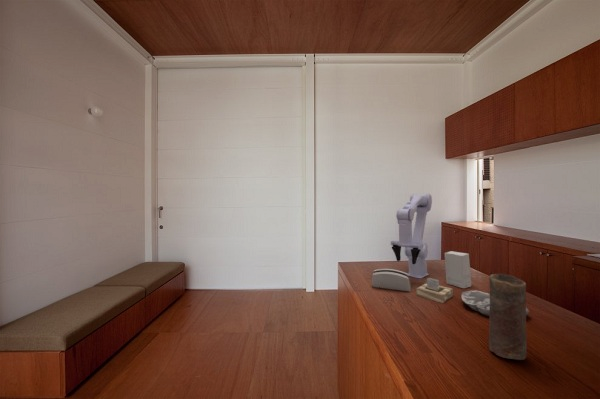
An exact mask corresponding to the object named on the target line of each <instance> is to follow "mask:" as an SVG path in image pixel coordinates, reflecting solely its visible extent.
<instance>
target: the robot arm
mask: <svg viewBox="0 0 600 399" xmlns="http://www.w3.org/2000/svg"><path fill="white" fill-rule="evenodd" d="M432 198H433V197H432V195H431V194H430V193H423V194H422V193H421V194H418V193H415V194H414V193H412V194H411V195H410V196H409V201H407V202H406V203H405V204H404V206H402V207H401V208H399V209H398V210H396V221H397V224H398V239H399V240H398V241H396V240H392V241H390V246H391V249H392V251H393V253H394V256H395V260H396V262H400V261H401V257H402V256H401V254H402V253H401V251H402V250H401V249H402V248H404V255H405V256H406V257H407V259H408V272H406V273H407V274H408V276H409V277H413V278H416V279H421V280H422V279H423V278H424V277H427V276H429V275H430V274H429V273H428V265H427V262H428V261H427V259H426V258H427V257H428V245H427V243H426V242H425V241H424V240H423V238H424V232H425V225H426V219H427V215H428V212H430V211H431V209H432V204H433V199H432ZM415 213H416V216H415ZM414 216H415V217H414ZM414 218H415V222H414V227H413V220H414ZM413 228H414V229H413Z"/></svg>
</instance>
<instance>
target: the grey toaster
mask: <svg viewBox="0 0 600 399" xmlns="http://www.w3.org/2000/svg"><path fill="white" fill-rule="evenodd" d="M407 273H408V272H405V271H401V270H397V269H395V268H394V269H393V268H392V269H391V268H378V269H374V271H373V272H372V279H371V287H372V286H373V287H372V288H379V287H380V288H381V289H388V290H396V291H405V292H412V285H411V280H410V276H408V274H407Z"/></svg>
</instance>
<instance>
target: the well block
mask: <svg viewBox="0 0 600 399" xmlns="http://www.w3.org/2000/svg"><path fill="white" fill-rule="evenodd" d="M453 290H454V289H453V288H451V287H446V286H443V285H439V291H441V292H436V291H432V290H428V289H427V282H426V283H424V284H422V285H420V286H419V287H416V296H417V297H421V298H424V299H427V300H430V301H431V300H432V301H434V302H437V303H441V304H444V303H446V301H448V300H450V299H451V298H452V297H453V296H454V293H453V292H454V291H453Z"/></svg>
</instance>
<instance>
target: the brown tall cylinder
mask: <svg viewBox="0 0 600 399" xmlns="http://www.w3.org/2000/svg"><path fill="white" fill-rule="evenodd" d="M526 291H527V283H526V282H525V281H524V280H523V279H521V278H518V277H516V276H514V275H511V274H504V273H492V274H490V275H489V294H490V316H489V318H488V319H489V322H488V323H489V326H488V327H489V330H488V348H489V349H488V350H489V351H490V352H492V353H494V354H495V355H497V356H498V357H502V358H503V359H504V358H505V359H511V360H513V361H523V360H525V359H526V358H527V314H526V308H527V294H526Z"/></svg>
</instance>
